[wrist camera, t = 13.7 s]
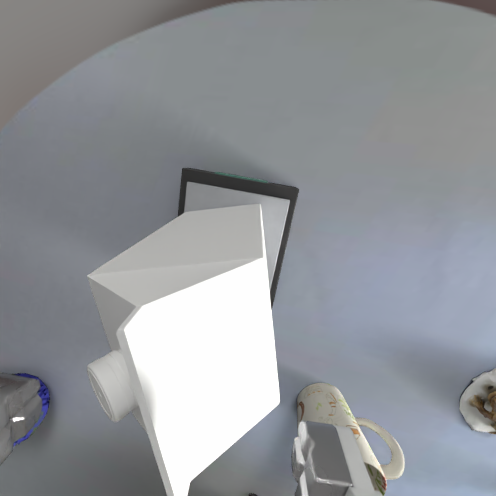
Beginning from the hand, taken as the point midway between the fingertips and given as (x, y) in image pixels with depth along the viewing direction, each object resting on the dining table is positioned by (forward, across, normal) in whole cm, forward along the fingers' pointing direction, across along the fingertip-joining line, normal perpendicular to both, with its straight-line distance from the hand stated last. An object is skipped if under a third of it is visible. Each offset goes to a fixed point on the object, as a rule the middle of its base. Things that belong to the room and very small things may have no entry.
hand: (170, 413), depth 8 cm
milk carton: (+18, 0, 0) cm, 18 cm away
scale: (+21, 0, 0) cm, 21 cm away
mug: (+21, -17, +20) cm, 34 cm away
